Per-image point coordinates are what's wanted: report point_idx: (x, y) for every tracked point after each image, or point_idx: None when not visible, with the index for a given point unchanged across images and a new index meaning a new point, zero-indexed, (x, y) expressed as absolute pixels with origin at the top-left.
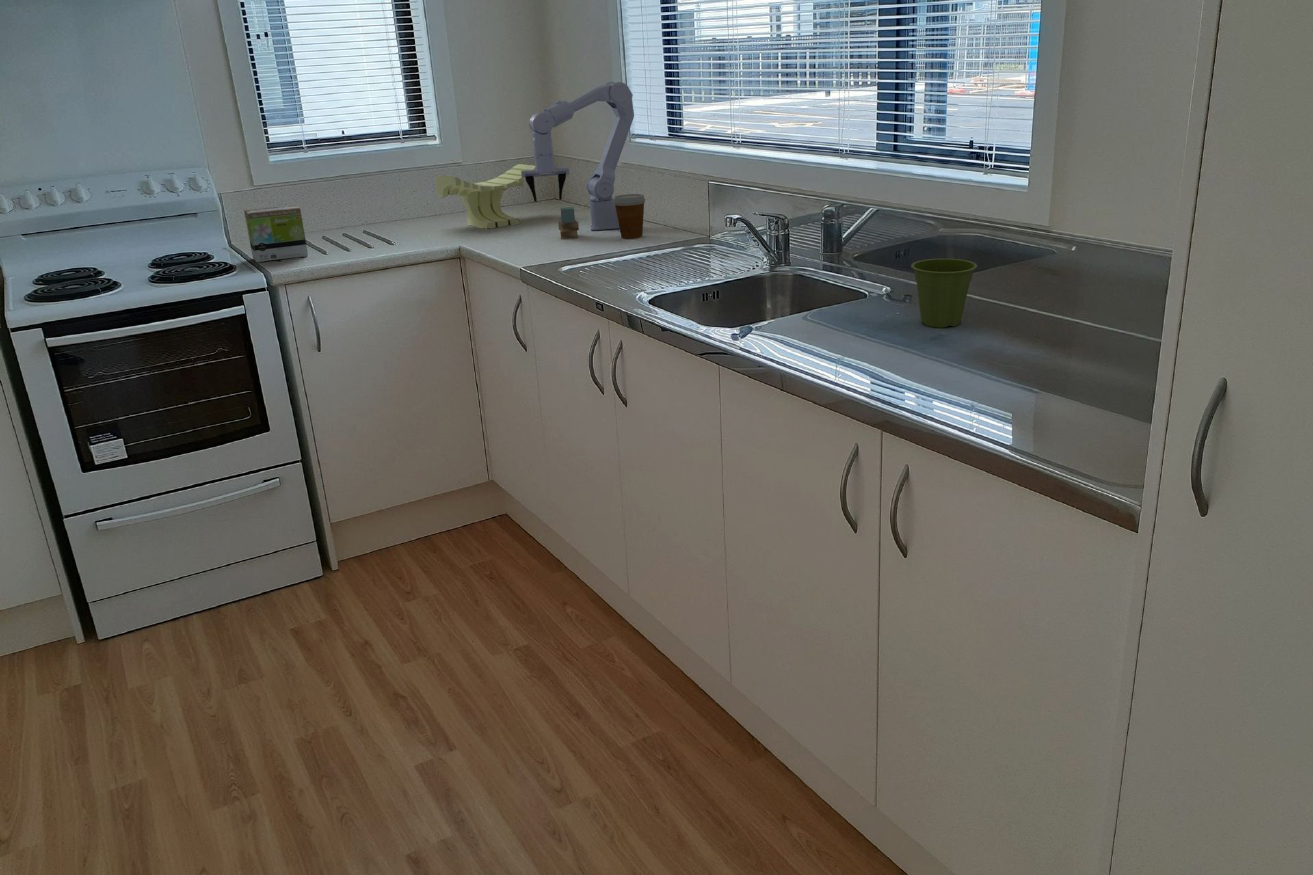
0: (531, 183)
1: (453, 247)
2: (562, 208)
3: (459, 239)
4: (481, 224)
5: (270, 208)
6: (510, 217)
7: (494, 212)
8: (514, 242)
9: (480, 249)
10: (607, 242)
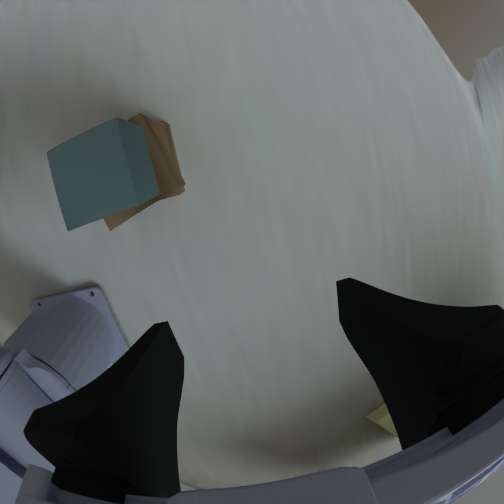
0: (445, 323)
1: (487, 102)
2: (116, 173)
3: (494, 222)
4: None
5: None
6: (391, 424)
7: None
8: (356, 101)
9: (420, 30)
10: (16, 72)
